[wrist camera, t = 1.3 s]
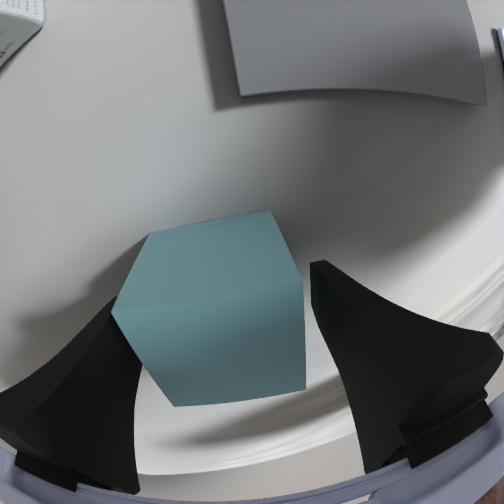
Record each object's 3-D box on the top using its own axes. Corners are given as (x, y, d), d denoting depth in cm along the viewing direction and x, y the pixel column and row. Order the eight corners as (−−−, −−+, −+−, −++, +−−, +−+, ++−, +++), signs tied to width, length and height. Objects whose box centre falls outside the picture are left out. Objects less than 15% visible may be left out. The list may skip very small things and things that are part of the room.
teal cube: (270, 208, 11) (302, 281, 6) (282, 304, 13) (306, 389, 9) (150, 232, 11) (111, 312, 6) (183, 321, 13) (174, 406, 9)
